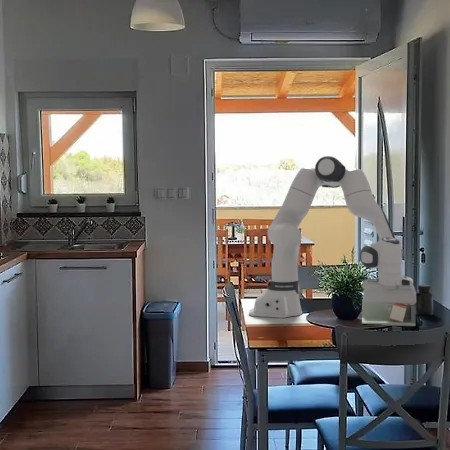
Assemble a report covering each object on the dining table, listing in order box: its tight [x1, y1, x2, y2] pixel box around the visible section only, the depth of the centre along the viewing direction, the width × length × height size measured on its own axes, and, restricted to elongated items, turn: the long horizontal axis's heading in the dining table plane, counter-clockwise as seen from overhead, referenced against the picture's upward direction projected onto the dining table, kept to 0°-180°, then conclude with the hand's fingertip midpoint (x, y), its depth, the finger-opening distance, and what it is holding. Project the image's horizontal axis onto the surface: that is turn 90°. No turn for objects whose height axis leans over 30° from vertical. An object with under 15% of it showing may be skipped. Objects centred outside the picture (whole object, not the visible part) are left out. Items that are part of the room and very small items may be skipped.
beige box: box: [390, 303, 407, 322], centre depth 265 cm, size 5×8×6 cm, turn 163°
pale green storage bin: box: [361, 299, 417, 327], centre depth 267 cm, size 20×12×9 cm, turn 78°
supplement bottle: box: [415, 284, 434, 317], centre depth 279 cm, size 7×7×12 cm
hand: (389, 314), depth 266 cm, fingers closed, pressing on beige box
